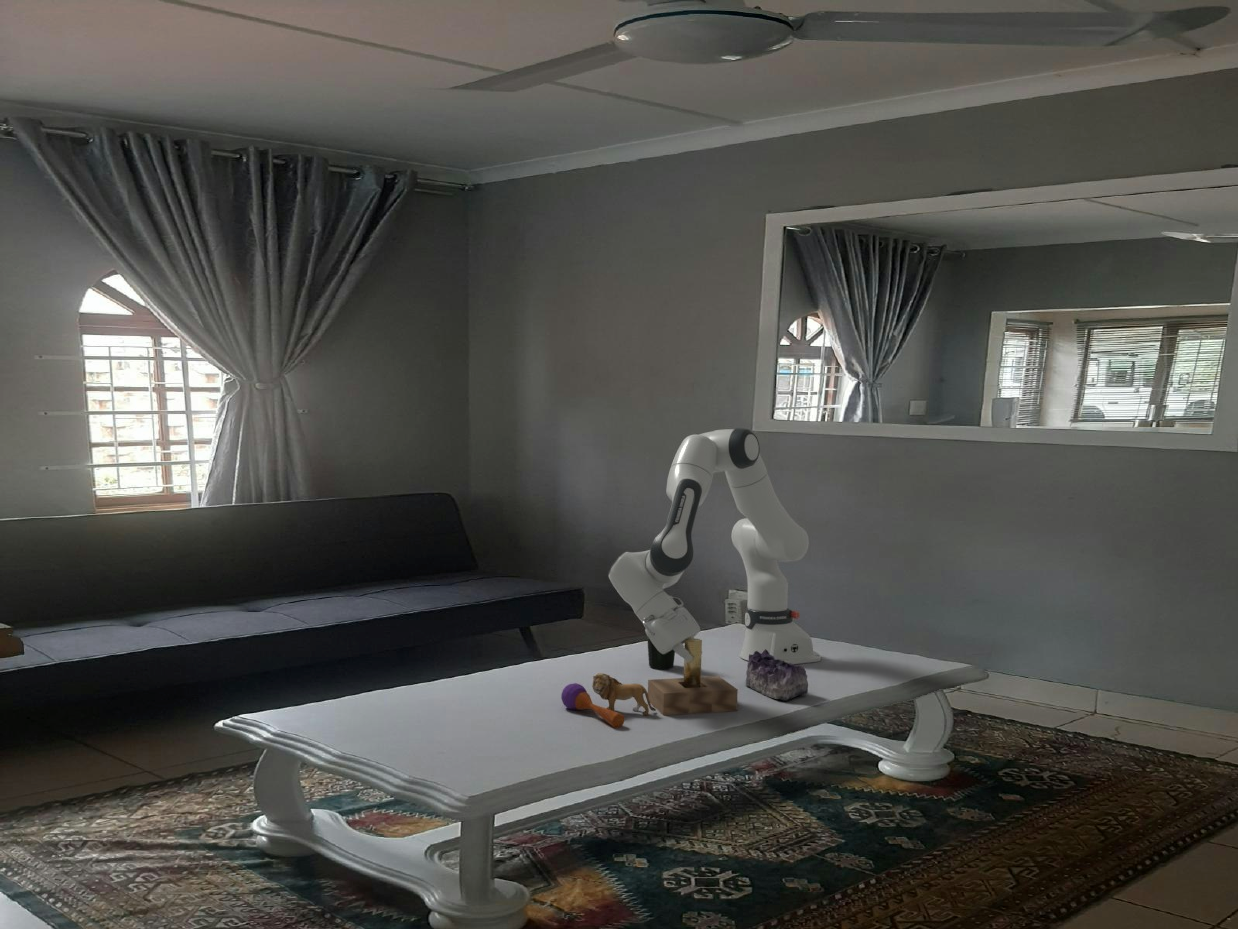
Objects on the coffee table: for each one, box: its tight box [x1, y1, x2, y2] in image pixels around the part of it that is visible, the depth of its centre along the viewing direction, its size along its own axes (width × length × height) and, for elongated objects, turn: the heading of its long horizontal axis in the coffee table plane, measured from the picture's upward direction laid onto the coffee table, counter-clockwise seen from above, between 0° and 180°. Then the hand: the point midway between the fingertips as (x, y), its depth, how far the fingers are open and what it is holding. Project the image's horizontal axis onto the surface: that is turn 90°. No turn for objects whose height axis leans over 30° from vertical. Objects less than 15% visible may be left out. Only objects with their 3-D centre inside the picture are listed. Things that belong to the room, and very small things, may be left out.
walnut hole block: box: [647, 675, 739, 716], centre depth 252 cm, size 18×12×5 cm, turn 105°
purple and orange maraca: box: [560, 682, 625, 729], centre depth 242 cm, size 6×6×20 cm
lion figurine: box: [592, 672, 657, 716], centre depth 246 cm, size 15×5×9 cm, turn 92°
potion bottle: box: [646, 635, 676, 671], centre depth 287 cm, size 8×8×18 cm
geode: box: [745, 649, 809, 702], centre depth 266 cm, size 20×12×10 cm, turn 29°
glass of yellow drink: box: [683, 637, 703, 685], centre depth 252 cm, size 4×4×10 cm
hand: (695, 658), depth 251 cm, fingers closed on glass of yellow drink, 4 cm apart
